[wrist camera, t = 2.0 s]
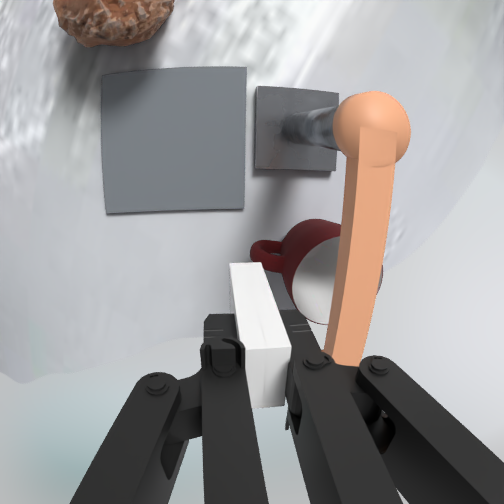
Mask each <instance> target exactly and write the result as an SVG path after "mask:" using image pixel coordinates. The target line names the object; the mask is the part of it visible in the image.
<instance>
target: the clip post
mask: <svg viewBox="0 0 504 504" xmlns="http://www.w3.org/2000/svg"><path fill="white" fill-rule="evenodd" d="M338 106H339V93H334V92H326V91H318V90H308V89H297V88H285V87H269V86H257V87H256V128H255V168H256V169H295V170H321V171H336V157H337V150H338V151H341V150H340V149H339V147H338V145H337V144H336V141H335V138H334V135H333V118H334V115H335V112H336V110H337V108H338Z"/></svg>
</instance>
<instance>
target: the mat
mask: <svg viewBox="0 0 504 504" xmlns="http://www.w3.org/2000/svg"><path fill="white" fill-rule="evenodd" d="M246 77H247V67H180V68H163V69H151V70H140V71H131V72H123V73H115V74H108V75H102V92H101V144H102V168H103V184H104V197H105V209H106V213H121V212H142V211H165V210H196V209H243V208H244V192H245V128H246Z"/></svg>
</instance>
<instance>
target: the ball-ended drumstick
mask: <svg viewBox="0 0 504 504" xmlns="http://www.w3.org/2000/svg"><path fill="white" fill-rule="evenodd" d="M333 135H334V138H335V141H336V144H337V145H338V147H339V149H340V150H341V152H342V153H343V154H344V155H345V156H346V157H347V160H346V175H345V189H344V201H343V212H342V222H341V232H340V241H339V250H338V259H337V267H336V274H335V282H334V289H333V296H332V303H331V309H330V316H329V322H328V328H327V334H326V341H325V346H324V350H321V351H322V352H325V353H327V354H328V355H330V356H331V357H332V358H333V359H334V361H335V363H337V364H340V365H346V366H358V367H359V364H360V362H361V358H362V354H363V350H364V347H365V343H366V339H367V334H368V330H369V326H370V321H371V317H372V313H373V308H374V304H375V299H376V294H377V289H378V284H379V279H380V274H381V268H382V263H383V257H384V251H385V244H386V238H387V231H388V224H389V216H390V209H391V200H392V191H393V181H394V170H395V163H396V162H397V161H399V160H400V159H401V158H402V156H403V155H404V154H405V152H406V150H407V148H408V145H409V142H410V135H411V129H410V122H409V119H408V116H407V114H406V111H405V110H404V108H403V107H402V105H401V104H400V103H399V102H398V101H397V100H396V99H395V98H393V97H392V96H390V95H389V94H386V93H383V92H379V91H370V92H365V93H360V94H355V95H352V96H350V97H348V98H346V99H345V100H344V101H343V102H342V103H341V104H340V105H339V106H338V108H337V110H336V112H335V115H334V118H333Z"/></svg>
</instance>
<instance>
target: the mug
mask: <svg viewBox="0 0 504 504" xmlns="http://www.w3.org/2000/svg"><path fill="white" fill-rule="evenodd" d="M340 232H341V225H340V224H337V223H333V222H330V221H326V220H322V219H309V220H305V221H302V222H300V223H298V224H297V225H295V226H294V227H293V228H292V229H291V230H290V231H289V232H288V233H287V235H286V236H285V238H284V239H283V241H282V242H279V241H271V240H259V241H257V242H255V243H254V244H253V245H252V247H251V250H250V257H251V260H252V261H253V262H261V264H262V267H263V269H265V270H267V271H271V272H277V273H281V274H282V276H283V279H284V283H285V286H286V289H287V292H288V294H289V296H290V298H291V300H292V302H293V303H294V305H295V307H296V309H297V310H298V311H299V312H301V313H302V314H303V315H304V316H305V317H306V319H308V320H310V321H312V322H314V323H317V324H323V325H328V322H329V316H330V309H331V303H332V296H333V289H334V282H335V274H336V267H337V259H338V250H339V241H340ZM271 253H278V254H280V256H278V255H273V254H271ZM382 278H383V265H382V268H381V274H380V279H379V284H378V289H377V293H378V291H379V289H380V286H381V283H382ZM376 295H377V294H376Z"/></svg>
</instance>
